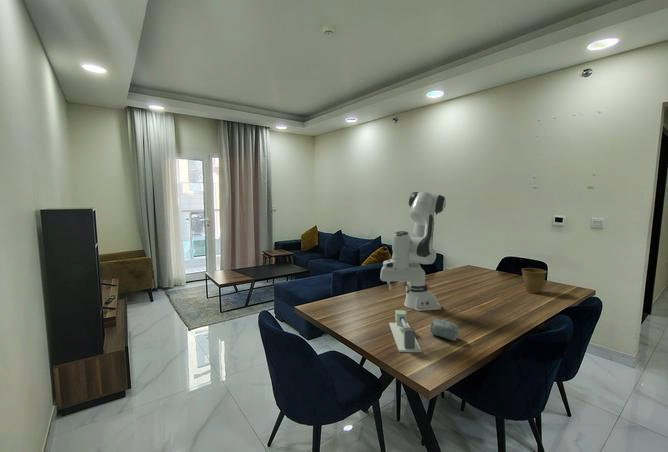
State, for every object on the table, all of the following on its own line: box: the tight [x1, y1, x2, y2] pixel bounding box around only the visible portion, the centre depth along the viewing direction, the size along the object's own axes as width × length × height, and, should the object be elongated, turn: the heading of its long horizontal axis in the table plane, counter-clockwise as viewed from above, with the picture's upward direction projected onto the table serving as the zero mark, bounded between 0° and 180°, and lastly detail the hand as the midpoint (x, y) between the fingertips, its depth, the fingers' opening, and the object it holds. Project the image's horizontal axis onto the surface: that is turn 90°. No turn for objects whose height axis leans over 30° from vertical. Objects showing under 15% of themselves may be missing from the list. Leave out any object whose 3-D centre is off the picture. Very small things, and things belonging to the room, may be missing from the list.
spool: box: [430, 319, 460, 342], centre depth 155 cm, size 14×10×10 cm
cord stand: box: [388, 317, 422, 353], centre depth 156 cm, size 10×30×10 cm, turn 179°
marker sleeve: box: [394, 309, 408, 324], centre depth 164 cm, size 5×5×5 cm
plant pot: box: [521, 267, 547, 294], centre depth 224 cm, size 15×15×16 cm
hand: (399, 289), depth 162 cm, fingers open, 8 cm apart
